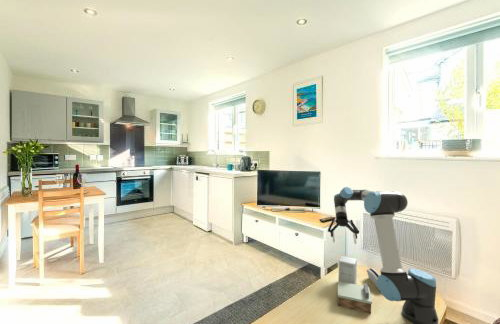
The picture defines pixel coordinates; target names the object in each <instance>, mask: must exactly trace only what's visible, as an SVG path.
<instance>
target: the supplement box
mask: <svg viewBox="0 0 500 324" xmlns="http://www.w3.org/2000/svg"><path fill="white" fill-rule="evenodd" d="M338 261H339V262H338V278H337V279H338V281H340V282H345V283H350V284H356V285H357V276H358V275H357V273H358V272H357V271H358V270H357V265H358V260H357V258H354V257H350V256H347V255H341V256H340V259H339V260H338ZM338 281H337V282H338Z"/></svg>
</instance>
